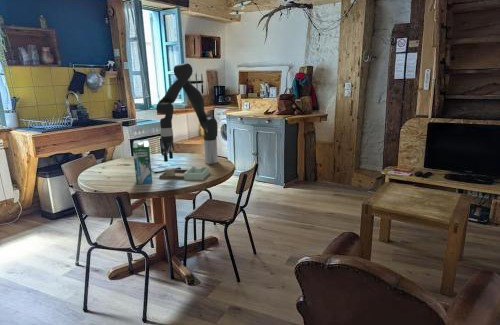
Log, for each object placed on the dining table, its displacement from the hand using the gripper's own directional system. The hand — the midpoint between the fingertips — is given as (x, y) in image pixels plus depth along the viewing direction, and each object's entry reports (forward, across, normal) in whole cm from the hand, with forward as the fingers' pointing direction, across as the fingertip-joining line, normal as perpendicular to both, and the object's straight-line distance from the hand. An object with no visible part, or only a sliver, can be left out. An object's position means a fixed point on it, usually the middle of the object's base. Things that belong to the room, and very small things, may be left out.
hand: (168, 160), depth 223 cm
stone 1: (+10, 0, 0) cm, 10 cm away
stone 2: (+10, -3, +19) cm, 21 cm away
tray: (+11, 0, +4) cm, 12 cm away
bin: (+11, 0, +19) cm, 21 cm away
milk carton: (+11, +14, -11) cm, 21 cm away
